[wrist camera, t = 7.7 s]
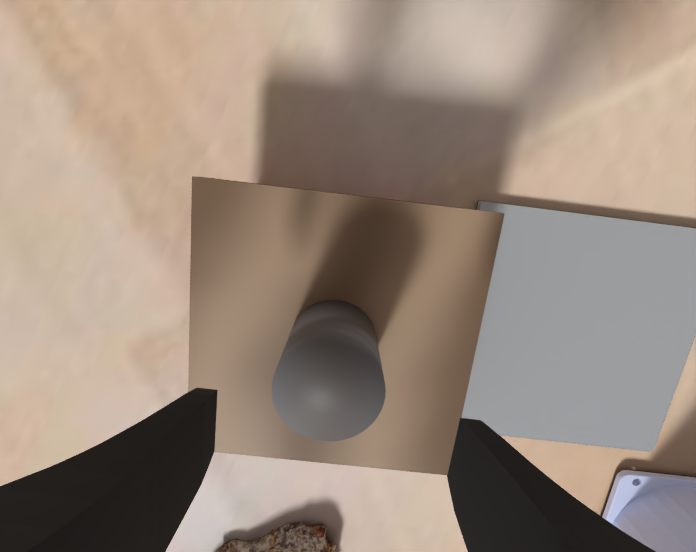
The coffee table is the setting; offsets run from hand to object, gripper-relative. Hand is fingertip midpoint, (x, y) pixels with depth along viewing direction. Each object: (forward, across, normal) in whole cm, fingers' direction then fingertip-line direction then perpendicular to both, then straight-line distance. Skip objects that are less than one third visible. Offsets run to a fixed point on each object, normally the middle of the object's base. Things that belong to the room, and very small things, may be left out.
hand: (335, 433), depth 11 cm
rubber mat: (+10, -13, -1) cm, 16 cm away
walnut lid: (+6, 0, -1) cm, 6 cm away
